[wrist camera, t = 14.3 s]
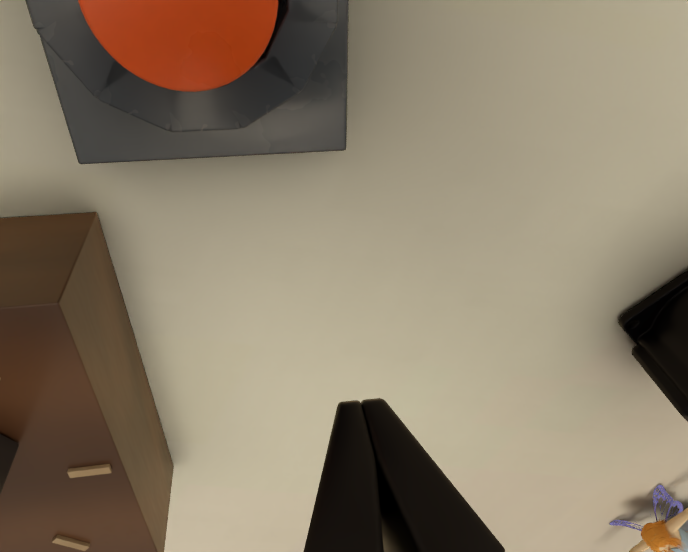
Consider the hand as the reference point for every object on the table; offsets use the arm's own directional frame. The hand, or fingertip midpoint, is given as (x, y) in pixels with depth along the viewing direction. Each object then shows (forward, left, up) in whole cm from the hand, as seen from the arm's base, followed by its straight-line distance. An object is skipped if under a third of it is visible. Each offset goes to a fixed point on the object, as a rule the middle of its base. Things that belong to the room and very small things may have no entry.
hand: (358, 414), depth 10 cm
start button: (-2, -6, -8) cm, 10 cm away
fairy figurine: (+2, +40, -11) cm, 42 cm away
